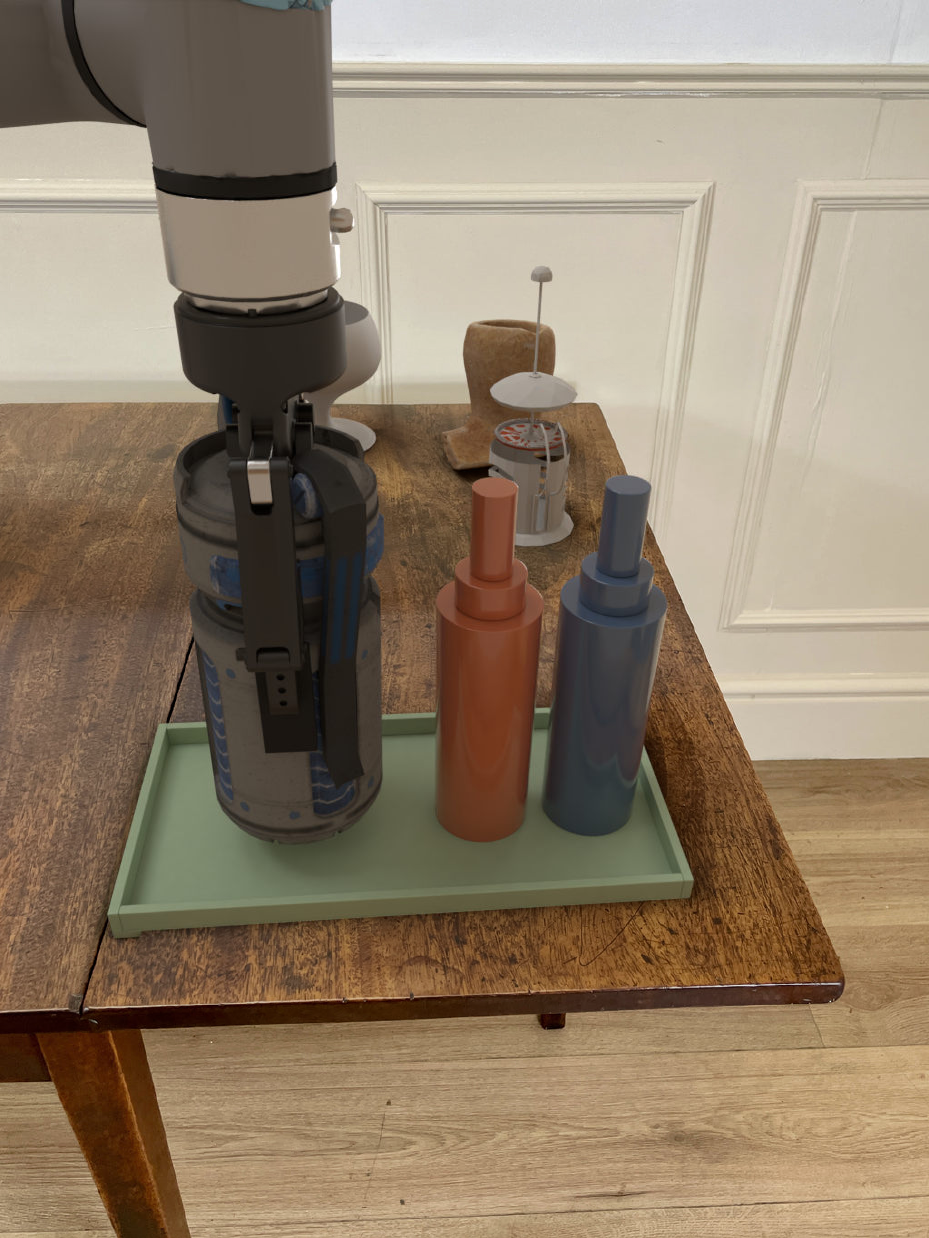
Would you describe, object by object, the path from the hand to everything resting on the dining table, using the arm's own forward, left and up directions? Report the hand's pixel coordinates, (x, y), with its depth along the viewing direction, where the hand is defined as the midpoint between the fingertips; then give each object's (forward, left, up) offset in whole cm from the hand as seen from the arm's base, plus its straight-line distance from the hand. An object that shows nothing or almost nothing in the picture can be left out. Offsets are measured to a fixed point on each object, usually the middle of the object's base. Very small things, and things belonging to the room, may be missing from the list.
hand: (297, 684), depth 54 cm
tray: (+6, 0, -11) cm, 13 cm away
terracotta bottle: (+11, 0, -11) cm, 15 cm away
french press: (+20, +39, -11) cm, 45 cm away
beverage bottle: (0, -1, -9) cm, 9 cm away
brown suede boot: (+19, +57, -11) cm, 61 cm away
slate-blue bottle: (+18, 0, -11) cm, 21 cm away
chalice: (-1, +61, -11) cm, 62 cm away
